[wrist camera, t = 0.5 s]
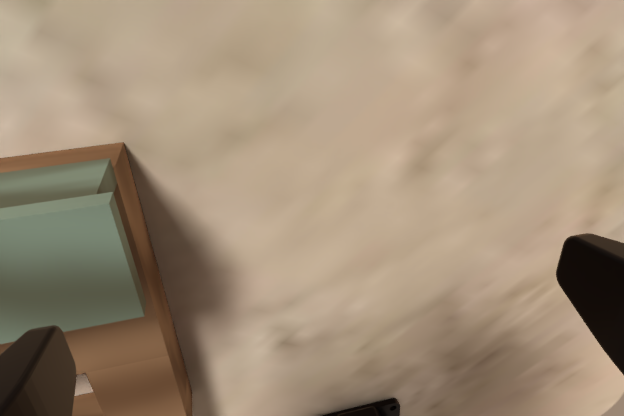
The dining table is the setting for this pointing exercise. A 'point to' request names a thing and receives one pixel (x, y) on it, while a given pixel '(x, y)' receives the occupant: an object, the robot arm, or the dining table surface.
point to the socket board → (129, 343)
